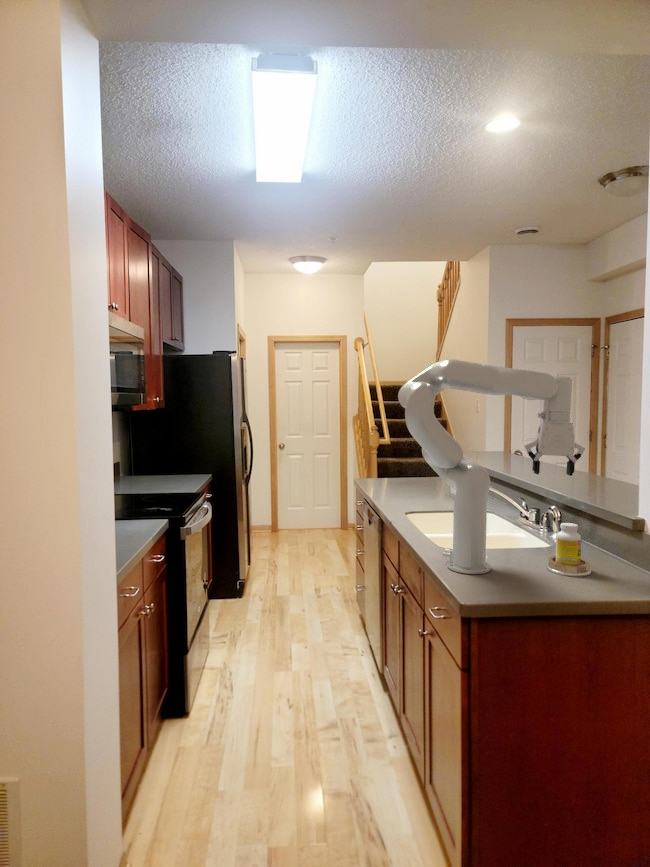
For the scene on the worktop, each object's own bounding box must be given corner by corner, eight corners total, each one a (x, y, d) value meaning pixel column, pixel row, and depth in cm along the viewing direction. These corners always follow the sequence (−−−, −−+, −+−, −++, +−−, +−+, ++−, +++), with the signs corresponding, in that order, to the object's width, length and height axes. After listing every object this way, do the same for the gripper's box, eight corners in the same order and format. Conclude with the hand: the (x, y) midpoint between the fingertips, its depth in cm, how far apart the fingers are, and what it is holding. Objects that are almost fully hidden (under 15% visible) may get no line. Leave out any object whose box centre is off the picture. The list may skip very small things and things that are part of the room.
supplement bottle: (580, 572, 157) (582, 527, 157) (555, 569, 160) (557, 525, 159) (579, 565, 163) (580, 523, 163) (555, 563, 166) (556, 521, 165)
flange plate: (539, 569, 162) (539, 560, 162) (557, 561, 170) (557, 552, 170) (580, 579, 153) (581, 569, 153) (597, 570, 161) (597, 561, 161)
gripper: (530, 416, 161) (527, 474, 162) (591, 419, 160) (587, 477, 161) (523, 416, 168) (520, 471, 169) (581, 418, 167) (577, 474, 168)
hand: (552, 474), depth 165 cm, fingers open, 9 cm apart
